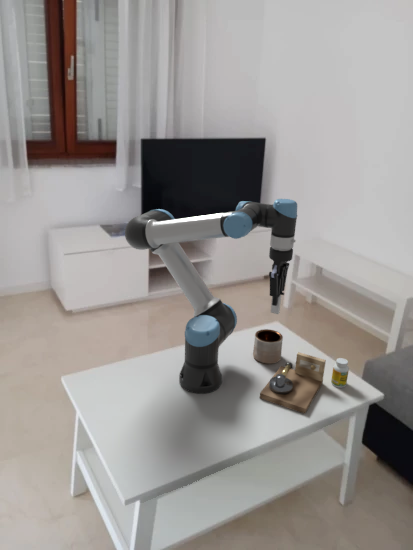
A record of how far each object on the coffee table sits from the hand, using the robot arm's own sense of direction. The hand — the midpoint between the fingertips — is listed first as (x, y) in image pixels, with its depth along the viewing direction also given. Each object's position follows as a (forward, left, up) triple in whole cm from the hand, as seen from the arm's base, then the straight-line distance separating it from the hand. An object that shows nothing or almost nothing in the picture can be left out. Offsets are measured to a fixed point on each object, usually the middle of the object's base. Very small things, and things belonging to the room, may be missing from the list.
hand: (275, 312), depth 163 cm
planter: (-6, +13, -27) cm, 30 cm away
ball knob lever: (+7, -4, -24) cm, 26 cm away
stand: (+10, -3, -26) cm, 28 cm away
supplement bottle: (+23, +10, -27) cm, 37 cm away
